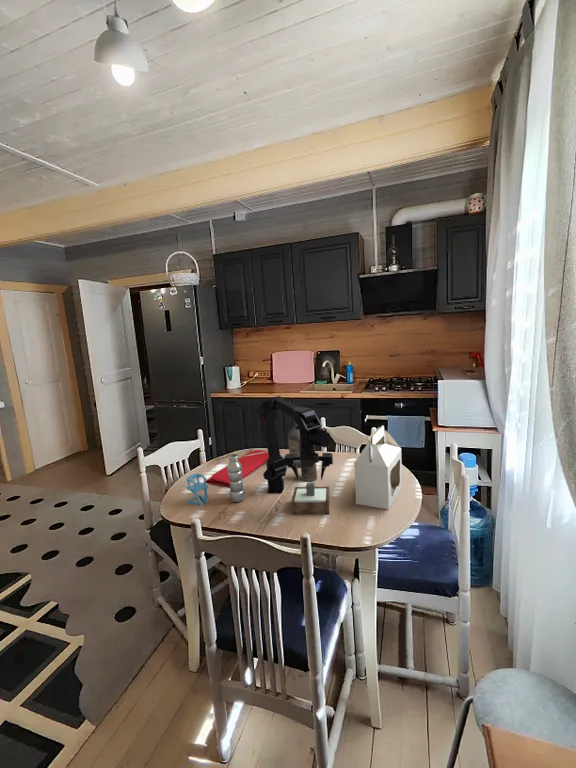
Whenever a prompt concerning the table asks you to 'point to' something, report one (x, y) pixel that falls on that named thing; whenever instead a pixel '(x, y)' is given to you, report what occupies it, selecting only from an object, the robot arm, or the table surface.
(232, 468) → the plastic bottle
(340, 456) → the table surface
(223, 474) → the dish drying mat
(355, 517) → the table surface
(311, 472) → the rusty brown cylinder
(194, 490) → the chair
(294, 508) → the walnut box
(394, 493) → the gable box
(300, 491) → the cover plate
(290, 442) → the liquor
